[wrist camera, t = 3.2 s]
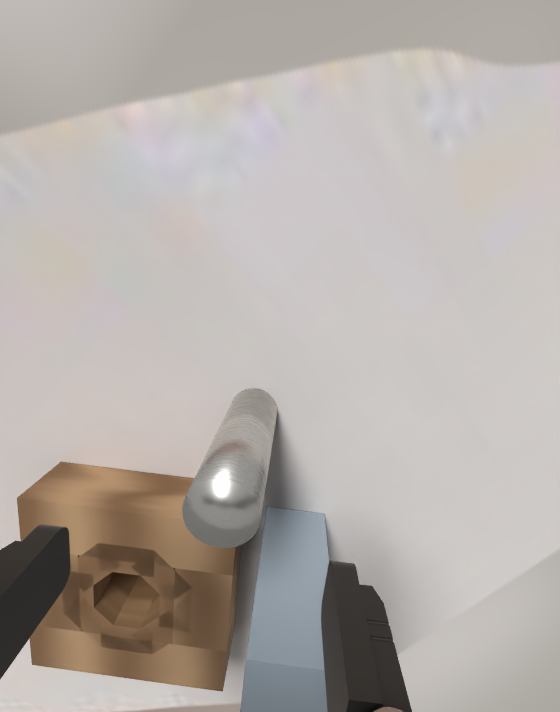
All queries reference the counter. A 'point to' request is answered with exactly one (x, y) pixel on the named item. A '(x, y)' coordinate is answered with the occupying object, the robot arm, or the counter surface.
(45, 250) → the counter surface
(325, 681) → the robot arm
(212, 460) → the round peg
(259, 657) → the square peg
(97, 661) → the bore block
